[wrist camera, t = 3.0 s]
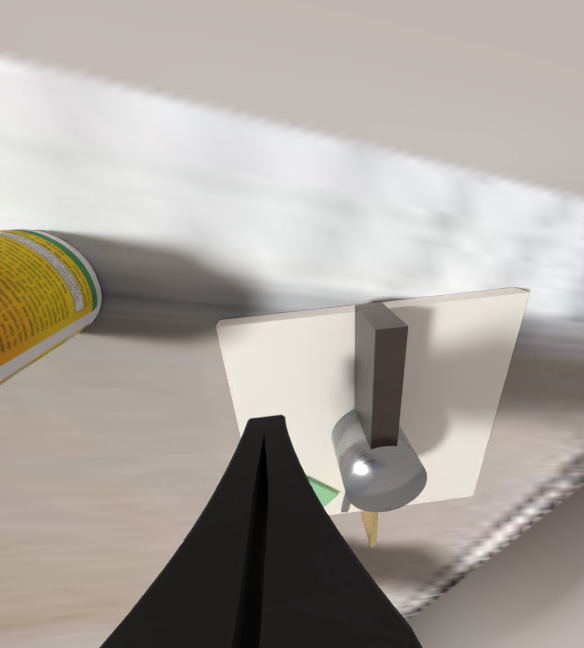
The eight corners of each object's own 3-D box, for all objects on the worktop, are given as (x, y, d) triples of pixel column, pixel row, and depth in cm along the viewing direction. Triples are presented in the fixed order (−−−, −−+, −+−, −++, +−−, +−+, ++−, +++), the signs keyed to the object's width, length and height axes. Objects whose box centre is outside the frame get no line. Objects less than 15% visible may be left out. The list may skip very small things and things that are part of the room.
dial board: (464, 484, 23) (475, 499, 22) (260, 511, 22) (260, 528, 21) (514, 287, 16) (534, 293, 15) (219, 320, 15) (215, 329, 14)
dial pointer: (390, 508, 21) (412, 564, 18) (334, 516, 21) (346, 573, 18) (410, 299, 14) (452, 328, 11) (326, 308, 14) (343, 340, 11)
